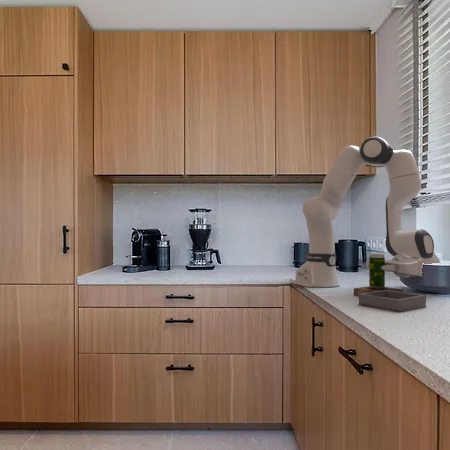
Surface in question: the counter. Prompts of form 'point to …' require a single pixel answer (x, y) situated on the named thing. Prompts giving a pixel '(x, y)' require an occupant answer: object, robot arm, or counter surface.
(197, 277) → the counter surface
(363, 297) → the tray
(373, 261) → the beer can
